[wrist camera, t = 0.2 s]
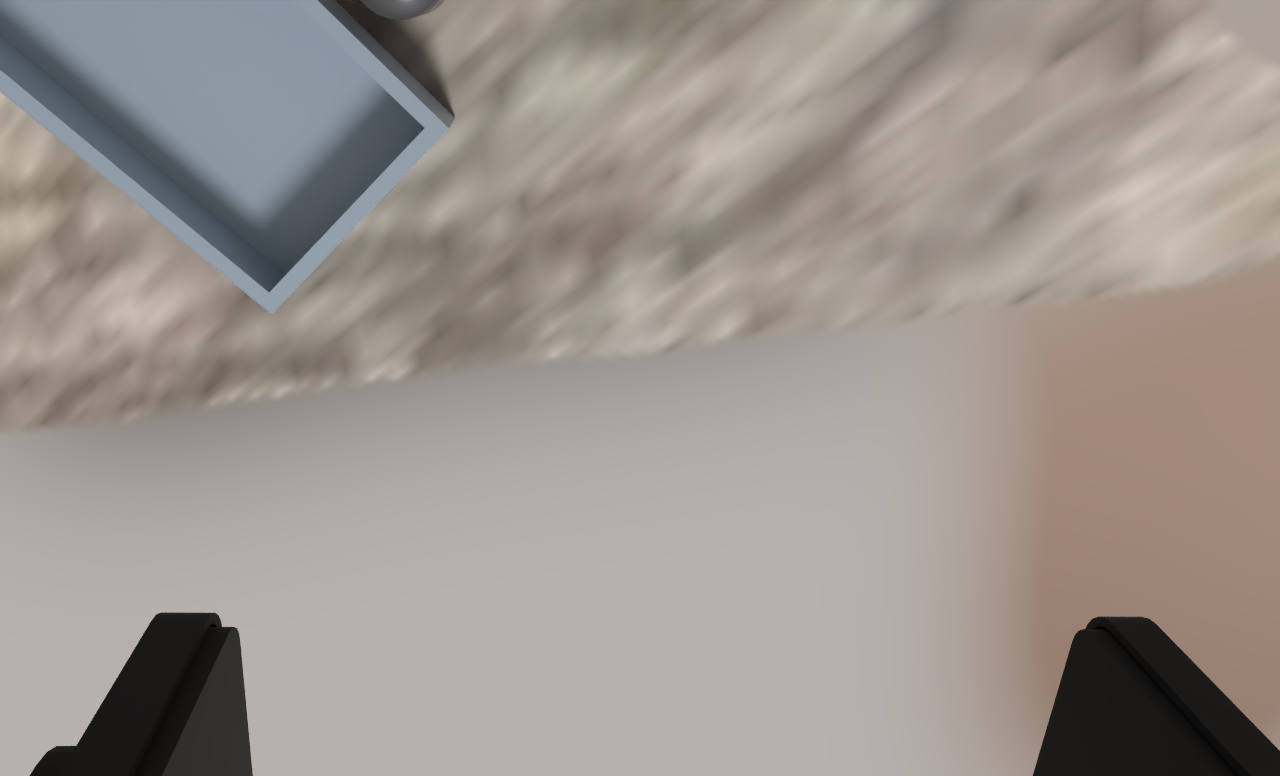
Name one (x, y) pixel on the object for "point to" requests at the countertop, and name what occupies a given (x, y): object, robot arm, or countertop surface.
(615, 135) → the countertop surface
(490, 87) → the countertop surface
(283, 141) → the tray
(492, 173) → the countertop surface
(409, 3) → the peg
